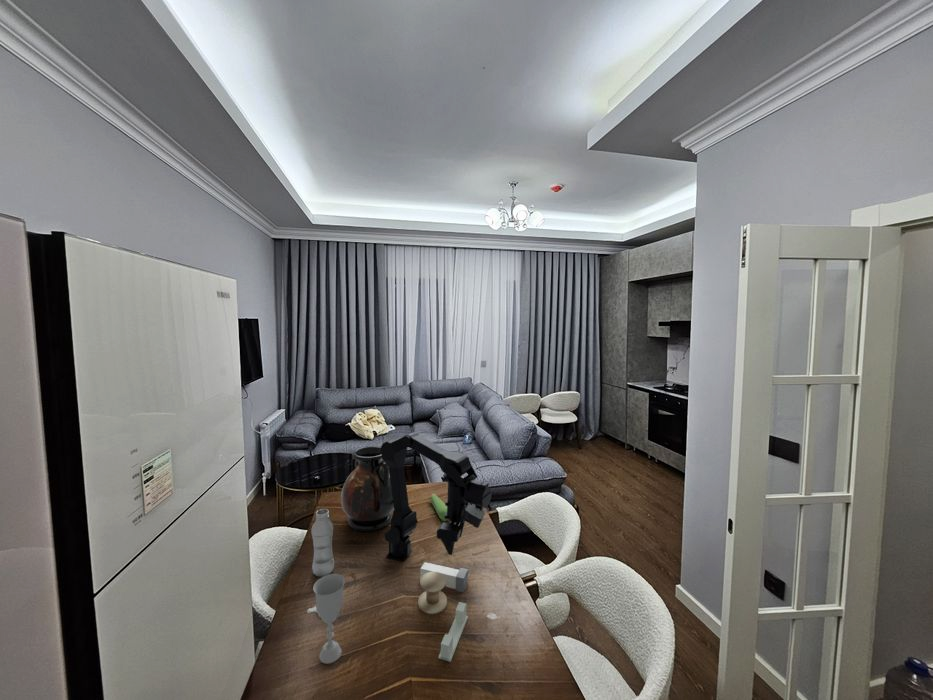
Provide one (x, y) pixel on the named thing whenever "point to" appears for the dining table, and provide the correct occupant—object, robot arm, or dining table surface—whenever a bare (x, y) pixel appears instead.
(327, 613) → the chalice
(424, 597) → the bobbin
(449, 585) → the mallet
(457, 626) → the notched board
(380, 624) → the dining table surface
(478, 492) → the robot arm
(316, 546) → the plastic bottle
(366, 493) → the amphora vase
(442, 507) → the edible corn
